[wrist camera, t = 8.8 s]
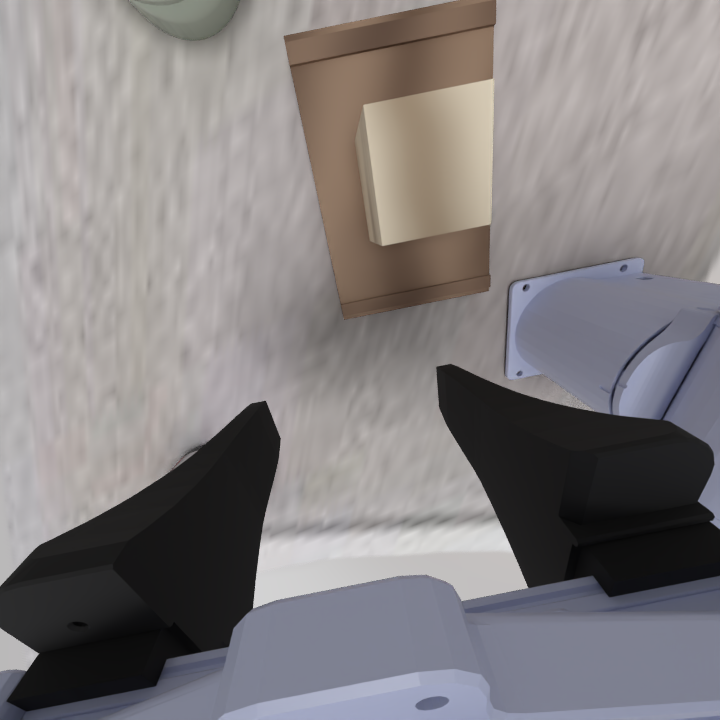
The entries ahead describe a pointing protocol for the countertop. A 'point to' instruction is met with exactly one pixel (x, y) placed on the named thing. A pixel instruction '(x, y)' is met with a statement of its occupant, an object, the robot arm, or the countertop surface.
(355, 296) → the walnut board
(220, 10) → the green lidded container
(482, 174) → the beech block
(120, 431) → the countertop surface
